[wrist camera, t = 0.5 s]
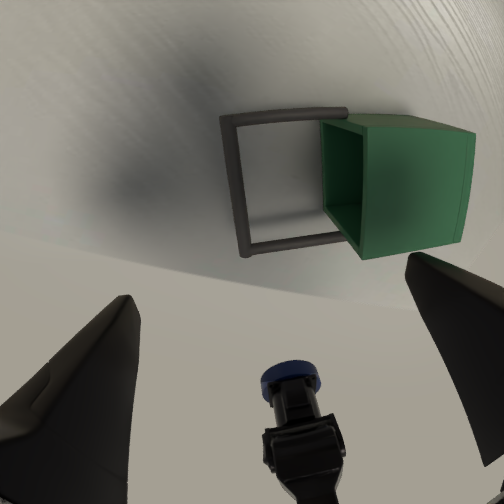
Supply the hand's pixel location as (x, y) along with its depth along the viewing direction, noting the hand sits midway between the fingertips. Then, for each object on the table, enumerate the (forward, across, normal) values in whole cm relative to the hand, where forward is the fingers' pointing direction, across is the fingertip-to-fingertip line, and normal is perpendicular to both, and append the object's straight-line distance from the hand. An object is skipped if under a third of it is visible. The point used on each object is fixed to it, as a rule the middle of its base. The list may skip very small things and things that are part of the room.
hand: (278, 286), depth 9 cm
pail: (+12, -6, 0) cm, 13 cm away
